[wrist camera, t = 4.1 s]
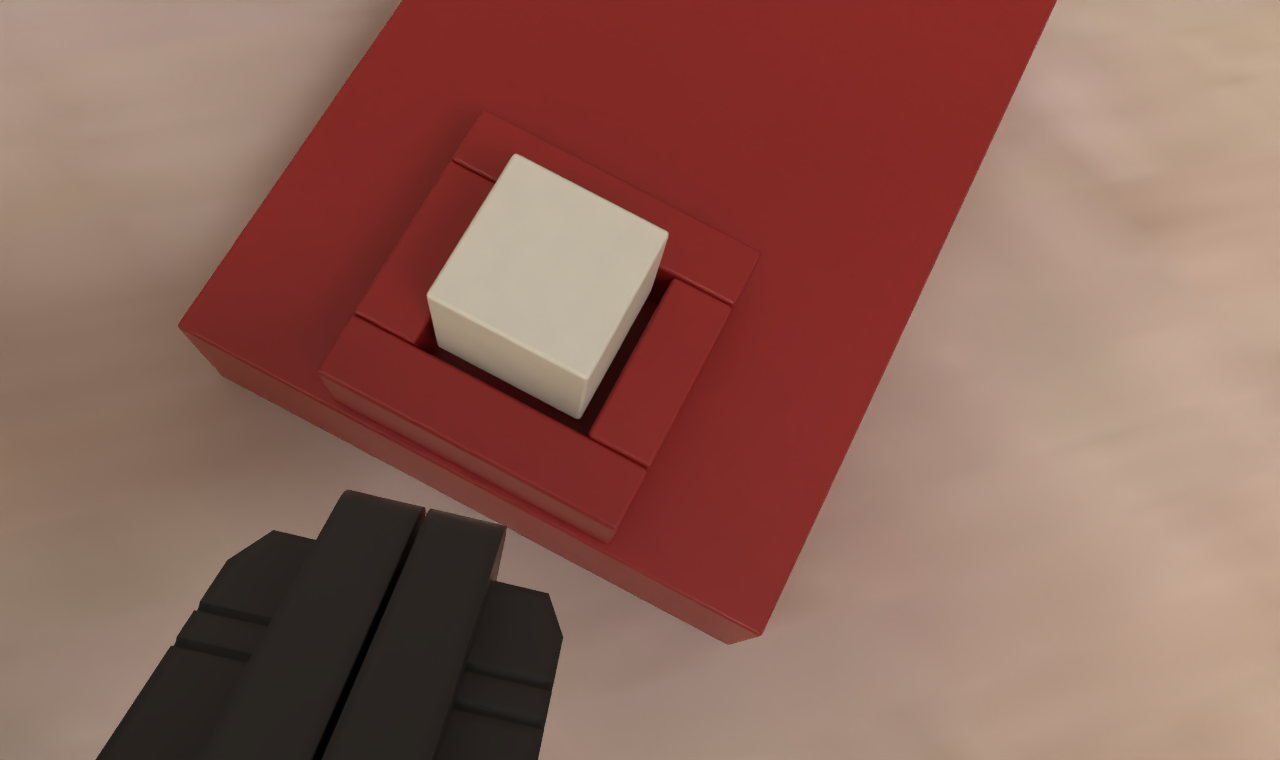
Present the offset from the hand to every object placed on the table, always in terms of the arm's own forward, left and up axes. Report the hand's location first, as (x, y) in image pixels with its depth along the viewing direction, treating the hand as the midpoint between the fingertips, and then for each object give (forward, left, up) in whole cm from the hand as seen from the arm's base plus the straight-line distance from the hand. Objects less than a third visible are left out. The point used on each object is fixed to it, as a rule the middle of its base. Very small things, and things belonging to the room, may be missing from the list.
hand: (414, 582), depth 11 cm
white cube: (-1, +5, -8) cm, 10 cm away
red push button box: (-1, +10, -13) cm, 16 cm away
